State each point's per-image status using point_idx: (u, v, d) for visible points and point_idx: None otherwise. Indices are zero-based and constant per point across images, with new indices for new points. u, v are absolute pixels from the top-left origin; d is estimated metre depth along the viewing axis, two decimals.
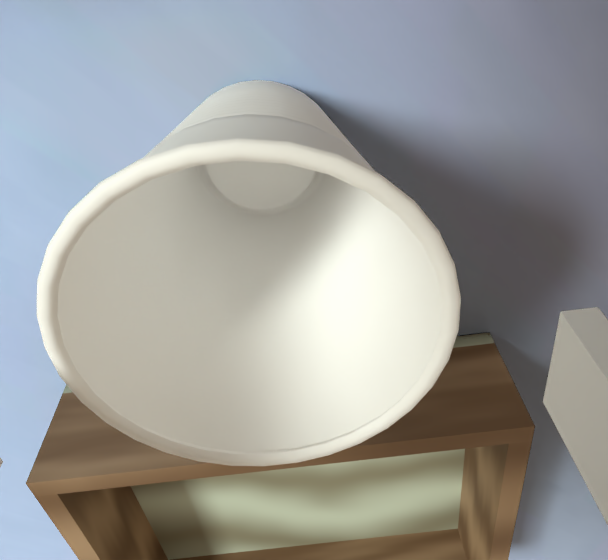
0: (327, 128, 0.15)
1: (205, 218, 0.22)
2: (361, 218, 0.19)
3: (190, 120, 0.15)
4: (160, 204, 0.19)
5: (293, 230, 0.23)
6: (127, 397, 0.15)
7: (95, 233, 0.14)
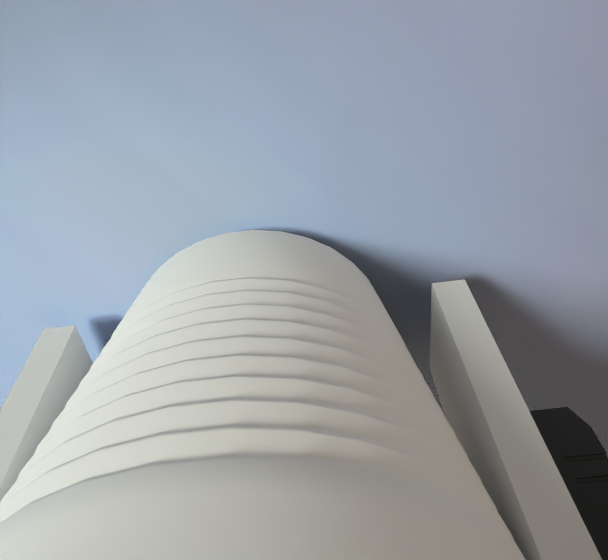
0: (399, 430, 0.07)
1: None
2: None
3: (111, 404, 0.07)
4: None
5: None
6: None
7: None
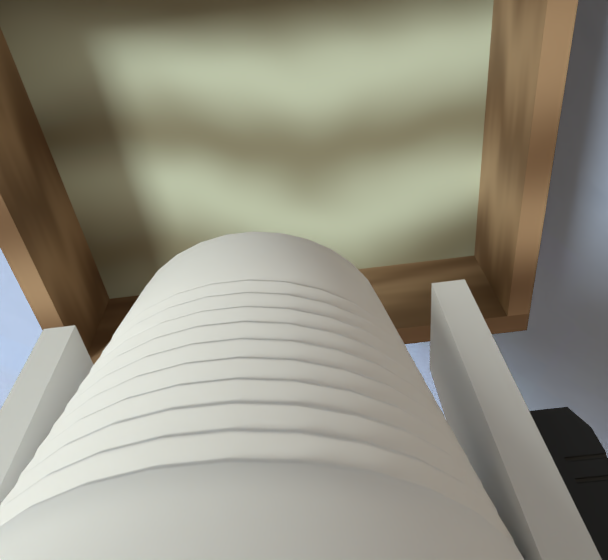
0: (400, 433, 0.07)
1: None
2: None
3: (111, 407, 0.07)
4: None
5: None
6: None
7: None
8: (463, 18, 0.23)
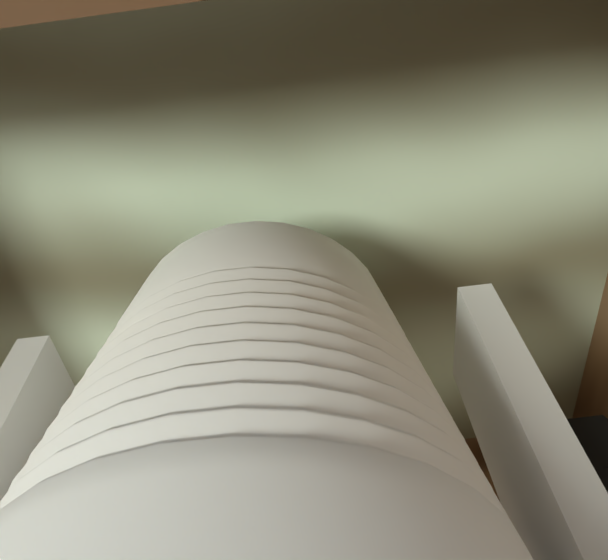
0: (399, 412, 0.07)
1: None
2: None
3: (119, 387, 0.07)
4: None
5: None
6: None
7: None
8: (598, 108, 0.13)
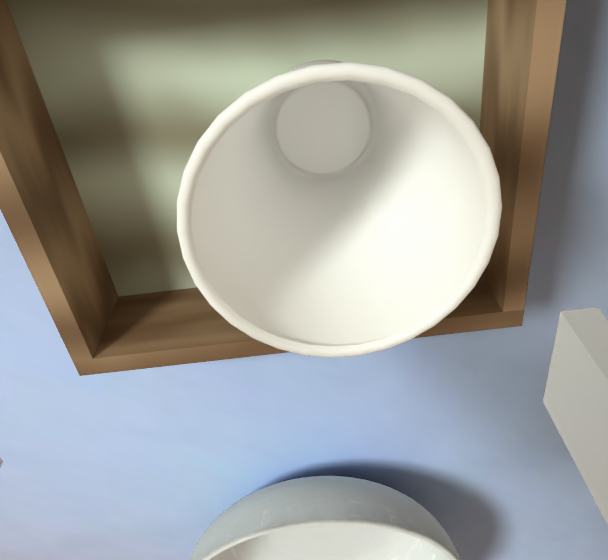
0: None
1: (273, 176, 0.26)
2: (410, 172, 0.23)
3: None
4: (245, 153, 0.23)
5: (346, 191, 0.26)
6: (225, 291, 0.19)
7: (215, 152, 0.18)
8: (458, 26, 0.24)
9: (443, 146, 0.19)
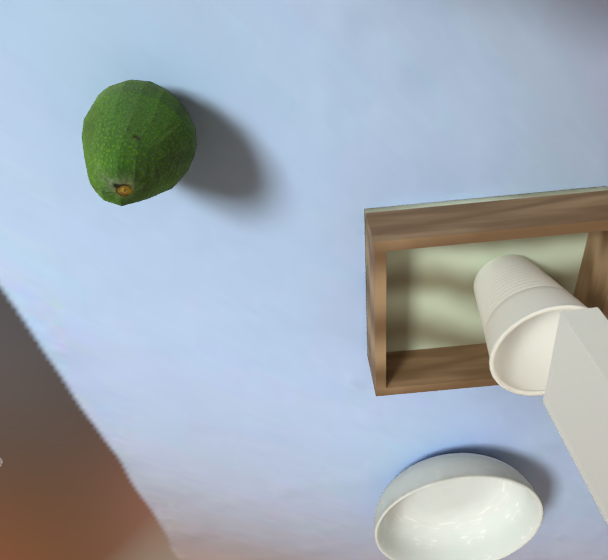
0: (562, 287, 0.47)
1: None
2: None
3: (518, 282, 0.47)
4: (481, 301, 0.51)
5: None
6: None
7: (498, 319, 0.46)
8: (574, 241, 0.52)
9: None
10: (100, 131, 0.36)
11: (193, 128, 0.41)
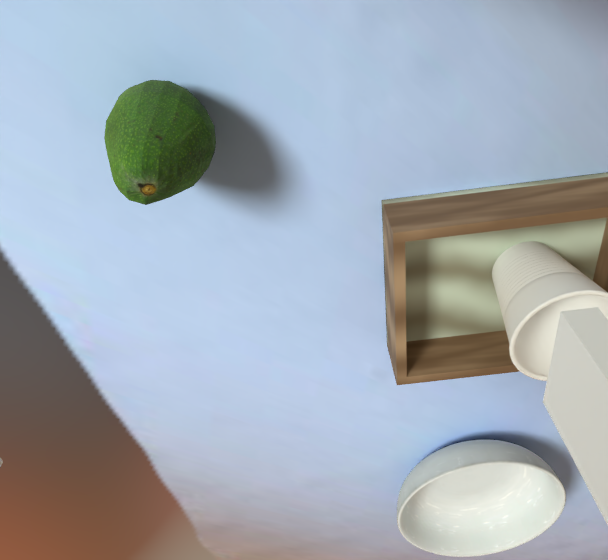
0: (581, 273, 0.48)
1: None
2: (573, 295, 0.51)
3: (537, 268, 0.48)
4: (499, 288, 0.51)
5: None
6: None
7: (517, 306, 0.46)
8: (592, 226, 0.52)
9: (601, 297, 0.48)
10: (123, 132, 0.36)
11: (212, 126, 0.42)
